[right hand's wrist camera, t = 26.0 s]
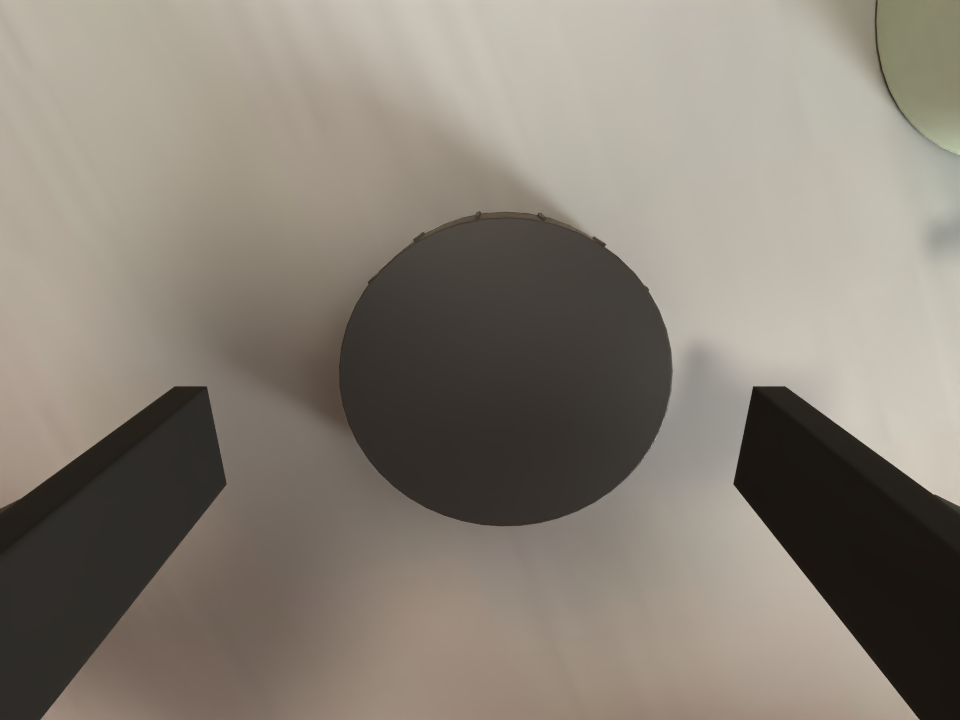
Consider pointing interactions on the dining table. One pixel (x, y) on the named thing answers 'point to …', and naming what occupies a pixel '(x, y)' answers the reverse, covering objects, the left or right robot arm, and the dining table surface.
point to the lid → (505, 370)
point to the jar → (923, 64)
